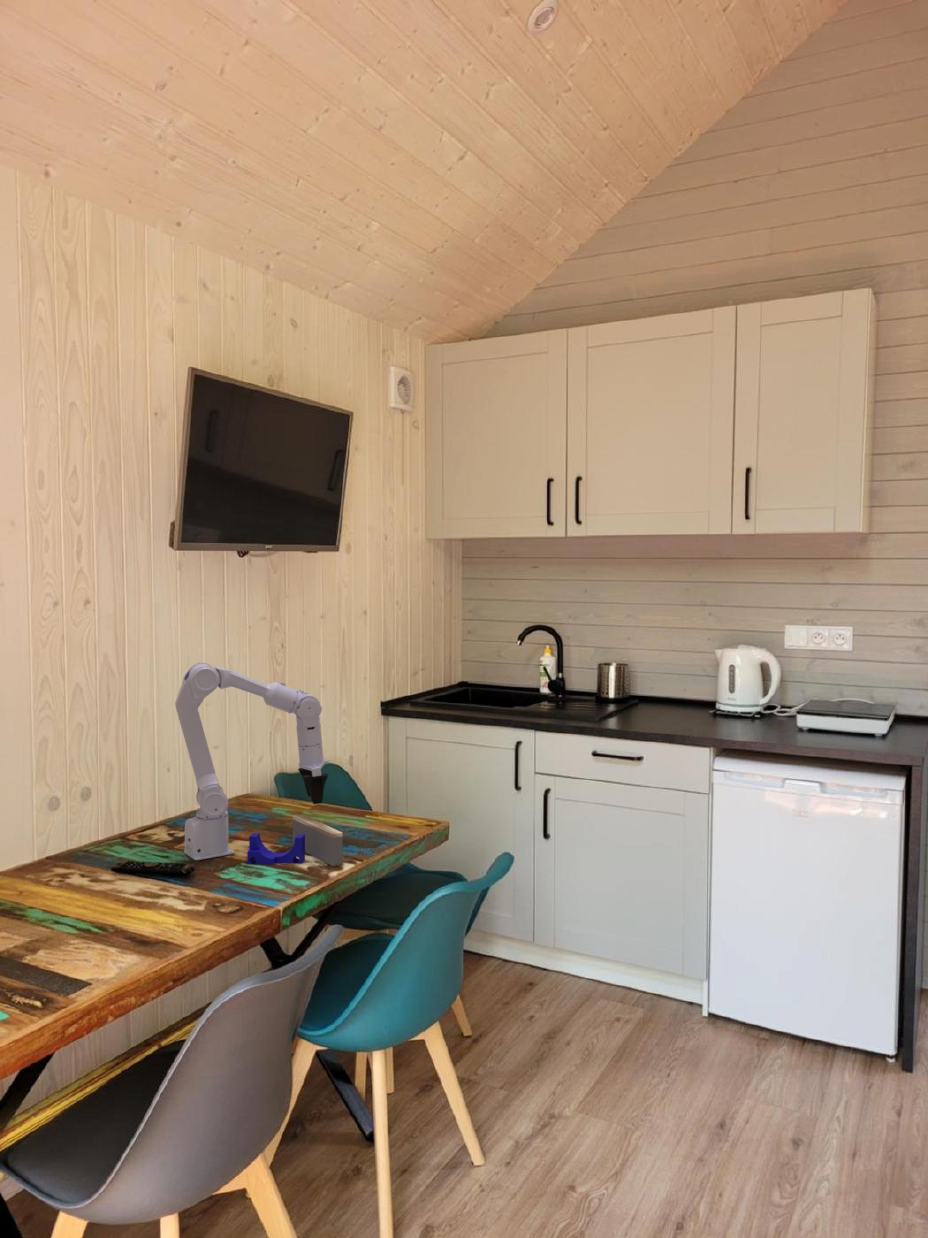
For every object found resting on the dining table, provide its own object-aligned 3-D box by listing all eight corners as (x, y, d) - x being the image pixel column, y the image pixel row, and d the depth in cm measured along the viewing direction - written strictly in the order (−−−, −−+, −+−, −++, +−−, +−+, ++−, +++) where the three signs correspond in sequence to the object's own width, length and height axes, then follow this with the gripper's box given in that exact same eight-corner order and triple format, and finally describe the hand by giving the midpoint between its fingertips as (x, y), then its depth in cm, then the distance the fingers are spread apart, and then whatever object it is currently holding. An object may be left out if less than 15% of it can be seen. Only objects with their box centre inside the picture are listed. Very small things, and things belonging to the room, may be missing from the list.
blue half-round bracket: (247, 864, 210) (247, 838, 209) (253, 858, 214) (253, 833, 214) (299, 866, 209) (299, 840, 208) (305, 860, 213) (305, 834, 213)
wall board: (332, 866, 208) (332, 834, 208) (292, 845, 224) (292, 815, 224) (342, 864, 209) (342, 832, 209) (302, 844, 226) (302, 814, 225)
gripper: (331, 747, 219) (336, 804, 220) (321, 736, 233) (326, 790, 234) (301, 751, 217) (306, 808, 218) (293, 740, 231) (298, 794, 232)
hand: (315, 799), depth 226 cm, fingers open, 7 cm apart
